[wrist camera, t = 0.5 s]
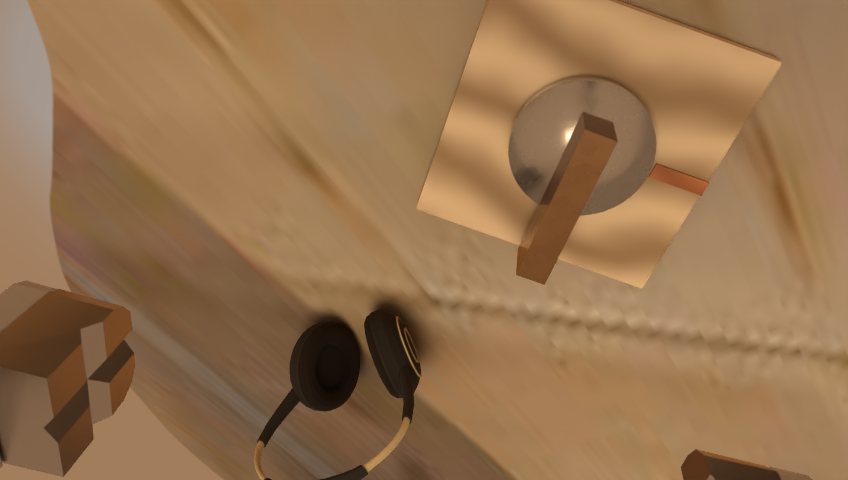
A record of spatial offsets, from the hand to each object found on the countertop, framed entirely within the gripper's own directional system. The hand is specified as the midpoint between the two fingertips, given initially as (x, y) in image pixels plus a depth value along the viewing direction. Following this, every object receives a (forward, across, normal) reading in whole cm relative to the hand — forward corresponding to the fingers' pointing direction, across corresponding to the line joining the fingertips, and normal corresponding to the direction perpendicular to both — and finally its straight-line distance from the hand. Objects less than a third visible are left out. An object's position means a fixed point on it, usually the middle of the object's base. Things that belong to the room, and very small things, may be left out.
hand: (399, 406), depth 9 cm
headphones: (+44, +6, +36) cm, 58 cm away
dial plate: (+44, -8, +11) cm, 46 cm away
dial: (+42, -8, +13) cm, 45 cm away
